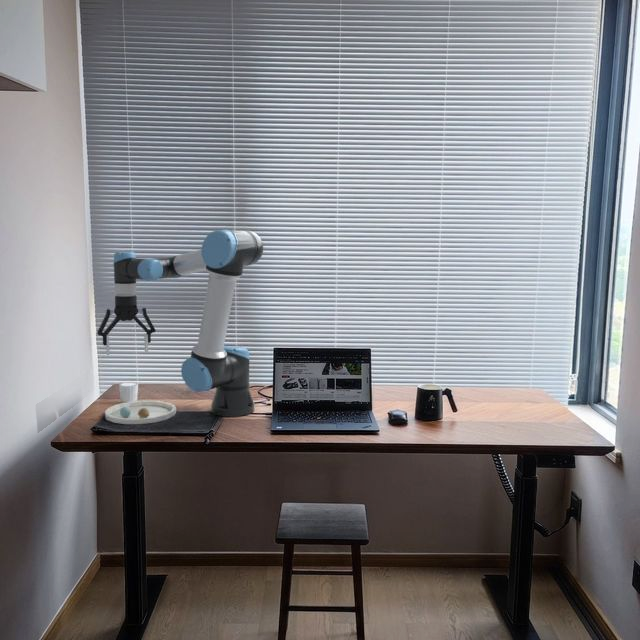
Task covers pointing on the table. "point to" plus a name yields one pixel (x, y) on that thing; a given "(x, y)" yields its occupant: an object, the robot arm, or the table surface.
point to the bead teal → (125, 412)
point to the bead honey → (143, 413)
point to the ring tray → (155, 408)
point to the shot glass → (128, 391)
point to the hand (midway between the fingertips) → (127, 353)
